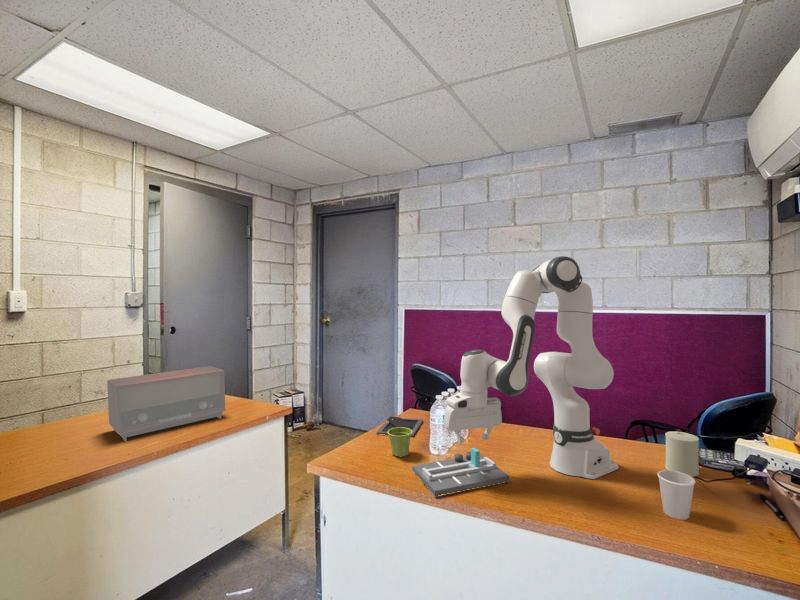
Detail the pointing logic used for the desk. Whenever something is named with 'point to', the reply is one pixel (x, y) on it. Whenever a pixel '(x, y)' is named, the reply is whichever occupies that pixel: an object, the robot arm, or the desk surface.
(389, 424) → the picture frame
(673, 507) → the dixie cup
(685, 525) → the desk surface
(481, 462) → the console
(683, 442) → the can
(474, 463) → the fader
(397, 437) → the plant pot
